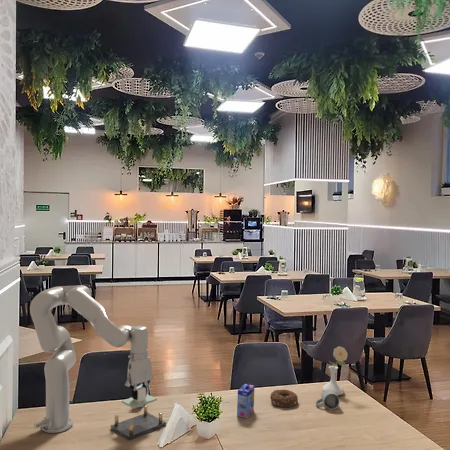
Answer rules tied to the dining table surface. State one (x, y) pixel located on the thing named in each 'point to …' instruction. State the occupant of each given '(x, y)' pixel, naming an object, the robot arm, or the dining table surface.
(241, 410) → the ink cartridge box
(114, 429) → the chassis plate
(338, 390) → the flower in vase
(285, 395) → the donut
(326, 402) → the ceramic mug
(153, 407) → the dining table surface
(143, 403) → the sage board
